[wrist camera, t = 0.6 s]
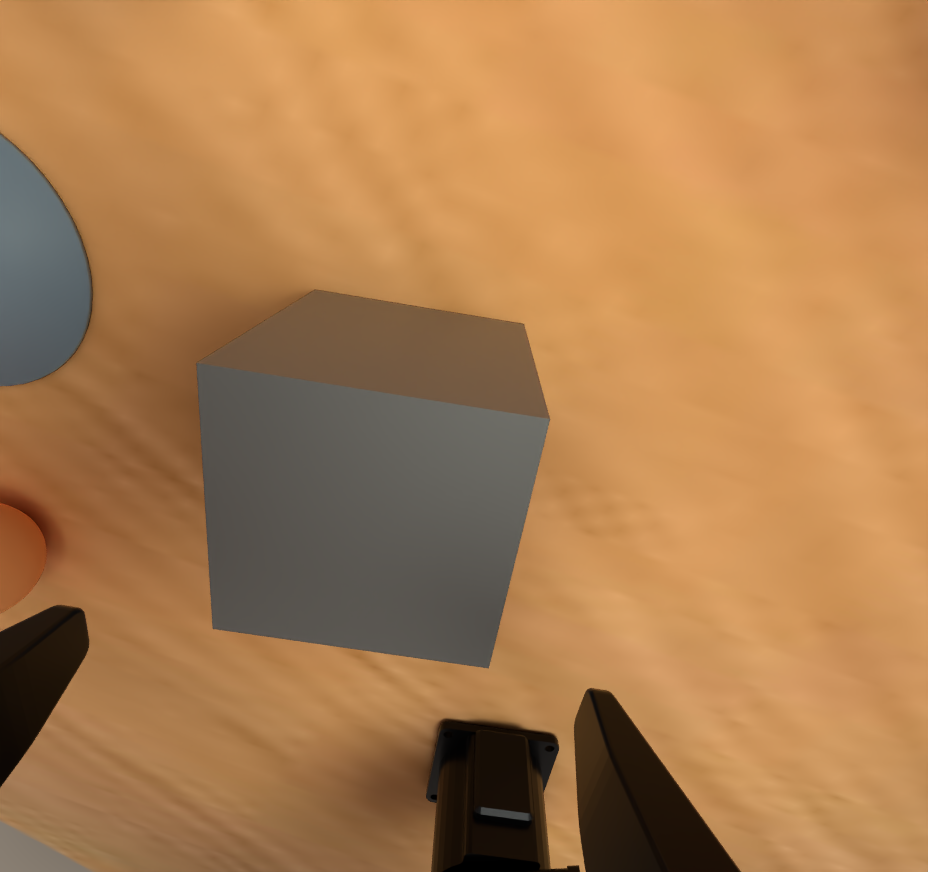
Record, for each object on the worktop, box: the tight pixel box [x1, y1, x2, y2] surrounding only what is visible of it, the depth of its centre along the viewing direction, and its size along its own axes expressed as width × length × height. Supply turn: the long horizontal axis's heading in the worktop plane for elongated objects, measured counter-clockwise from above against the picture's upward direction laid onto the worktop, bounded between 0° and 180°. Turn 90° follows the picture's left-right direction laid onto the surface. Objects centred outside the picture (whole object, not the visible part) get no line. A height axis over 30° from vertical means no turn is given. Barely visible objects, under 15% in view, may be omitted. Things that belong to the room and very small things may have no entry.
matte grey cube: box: [196, 290, 550, 668], centre depth 17 cm, size 8×8×9 cm
